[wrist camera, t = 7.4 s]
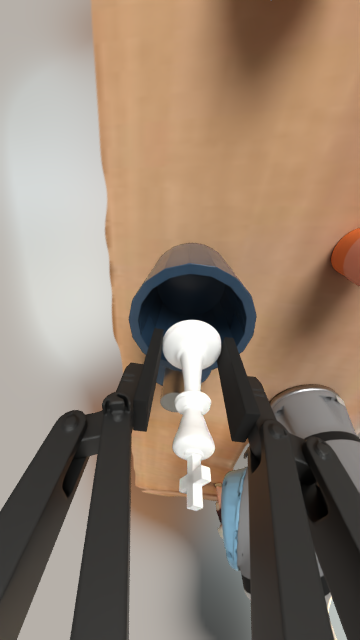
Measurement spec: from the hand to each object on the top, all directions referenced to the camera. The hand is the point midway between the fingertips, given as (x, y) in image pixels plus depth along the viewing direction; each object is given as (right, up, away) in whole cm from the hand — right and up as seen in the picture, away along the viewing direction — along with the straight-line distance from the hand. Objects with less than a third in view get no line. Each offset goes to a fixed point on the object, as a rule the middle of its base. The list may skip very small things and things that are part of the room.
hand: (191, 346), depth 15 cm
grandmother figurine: (+13, -56, +50) cm, 77 cm away
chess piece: (0, 0, 0) cm, 0 cm away
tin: (+1, +8, +13) cm, 16 cm away
